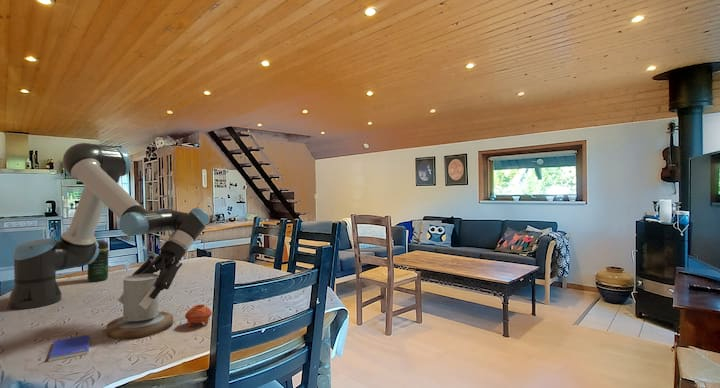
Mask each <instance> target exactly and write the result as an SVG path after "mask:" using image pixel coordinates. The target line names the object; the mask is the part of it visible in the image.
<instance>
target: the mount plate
mask: <svg viewBox="0 0 720 388" xmlns="http://www.w3.org/2000/svg"><path fill="white" fill-rule="evenodd" d="M173 324H174V316H173V314H172V313H170V312H166V311H159V310H158V315H157V316H155V317H153V318H150V319H147V320H142V321H125V320H124V319H123V316H121V317H118V318H115V319H113V320H111V321H110V322H109V323H107V324H106V327H105V328H106V330H105V332H106V336H107V337H109V338H110V339H115V340H131V339H132V340H133V339H140V338H146V337H151V336H153V335H154V336H155V335H156V334H160V333H163V332H165V331H166V330H168V329H170V328H171V327H172V326H173Z"/></svg>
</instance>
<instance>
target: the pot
mask: <svg viewBox="0 0 720 388" xmlns="http://www.w3.org/2000/svg"><path fill="white" fill-rule="evenodd" d="M212 314H213V311H212V310H211V309H210V308H209V307H208V306H206V305H205V304H196V305H193V306H192V308H189V310H188V311H186V313H185V316H184V317H185V319H186V320H187V321H186V322H187V325H188V327H189V328H191V325H192V324H201V323H204V324H205V326H208V324H209V318H210V317H211V316H212Z"/></svg>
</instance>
